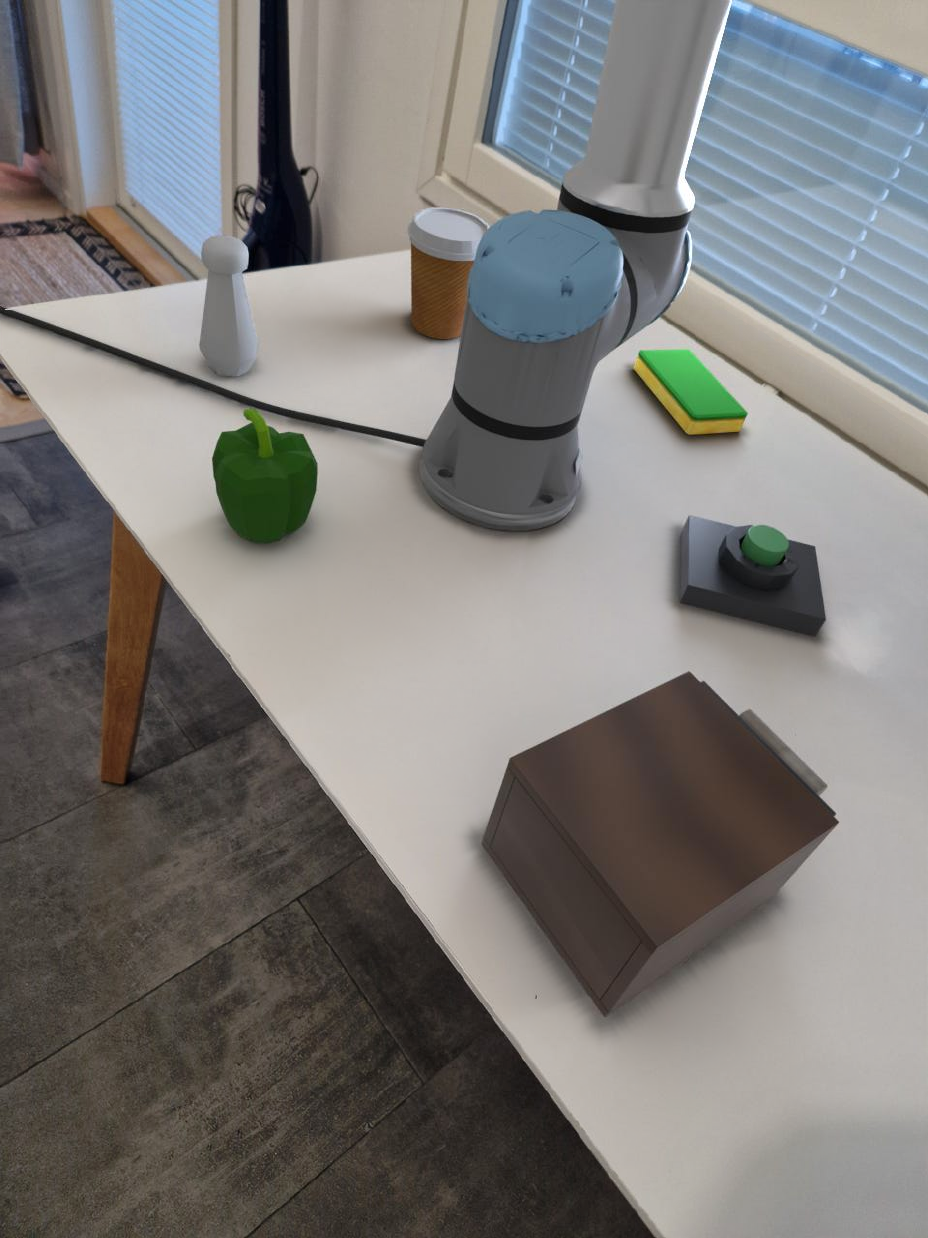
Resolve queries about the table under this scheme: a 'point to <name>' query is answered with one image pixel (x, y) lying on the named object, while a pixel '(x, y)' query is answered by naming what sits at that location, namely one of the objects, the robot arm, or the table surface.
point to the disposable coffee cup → (442, 268)
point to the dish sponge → (690, 391)
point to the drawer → (779, 750)
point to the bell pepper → (264, 479)
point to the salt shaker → (227, 308)
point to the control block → (749, 578)
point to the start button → (764, 545)
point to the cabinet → (649, 835)
